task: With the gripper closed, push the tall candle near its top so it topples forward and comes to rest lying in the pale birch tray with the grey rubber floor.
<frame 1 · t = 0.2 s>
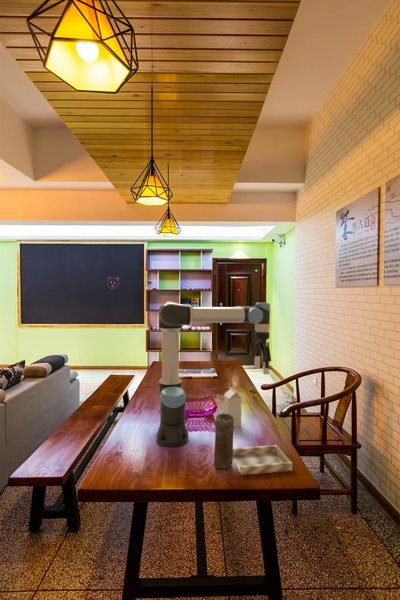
hand: (261, 370, 174), 28 cm above the table, fingers open, 13 cm apart
milk carton: (232, 424, 172), on the table
tray: (260, 462, 133), on the table
candle: (223, 466, 130), on the table
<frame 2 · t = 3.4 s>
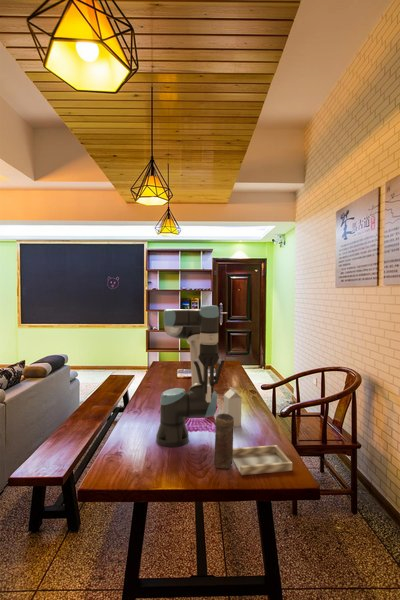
hand: (208, 401, 132), 26 cm above the table, fingers closed
nothing on the table moved.
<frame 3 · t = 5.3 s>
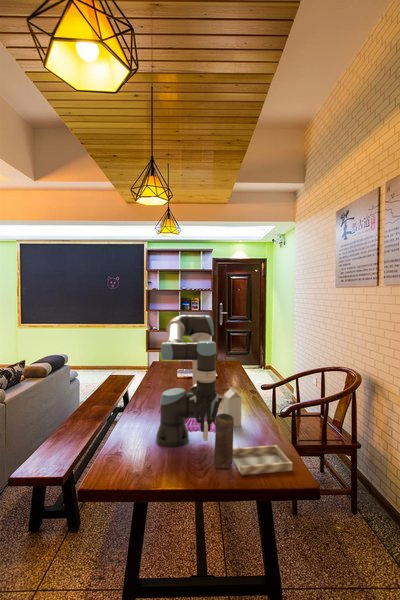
hand: (205, 439, 129), 11 cm above the table, fingers closed
nothing on the table moved.
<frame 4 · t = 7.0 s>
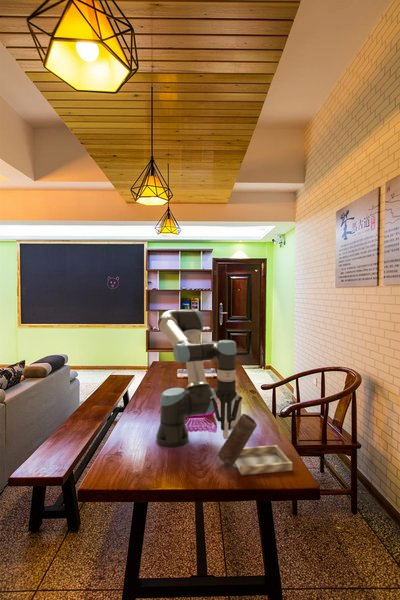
hand: (225, 437, 130), 12 cm above the table, fingers closed
candle: (224, 461, 130), point 2 cm above the table
everything else where it was.
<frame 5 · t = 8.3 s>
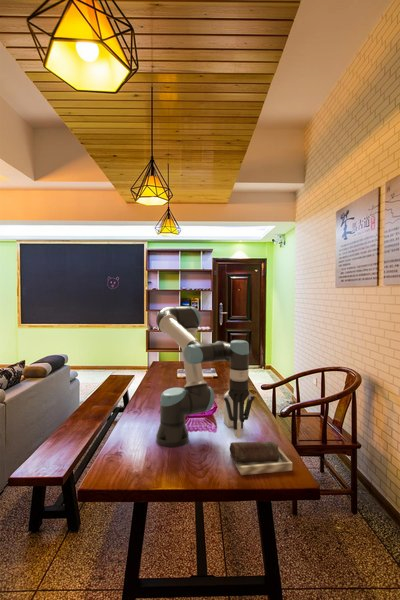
hand: (238, 436, 131), 11 cm above the table, fingers closed
candle: (230, 452, 133), point 4 cm above the table, touching tray
everything else where it was.
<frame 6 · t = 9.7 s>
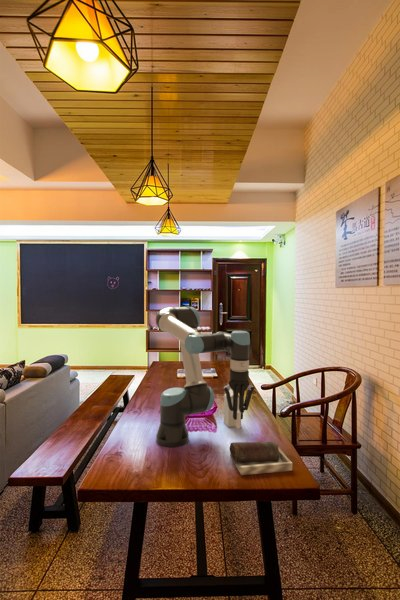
hand: (237, 426, 132), 15 cm above the table, fingers closed
nothing on the table moved.
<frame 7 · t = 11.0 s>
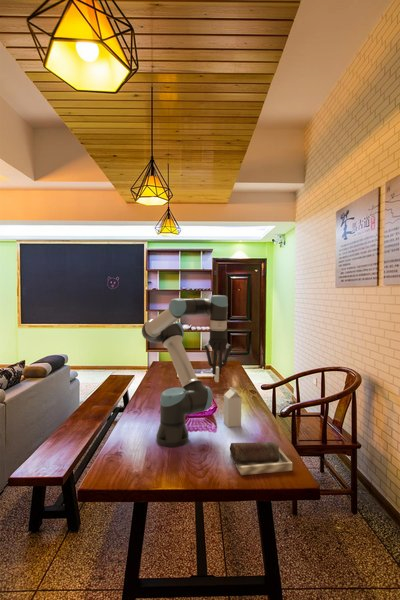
hand: (216, 381, 147), 29 cm above the table, fingers closed
nothing on the table moved.
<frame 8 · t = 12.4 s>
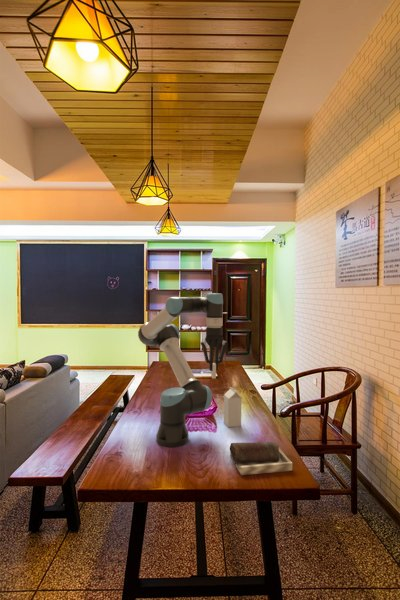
hand: (213, 377, 149), 30 cm above the table, fingers closed
nothing on the table moved.
at the end: candle tilted 89°; candle inside the target area (10.2 cm from its centre), point 3.9 cm above the table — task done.
